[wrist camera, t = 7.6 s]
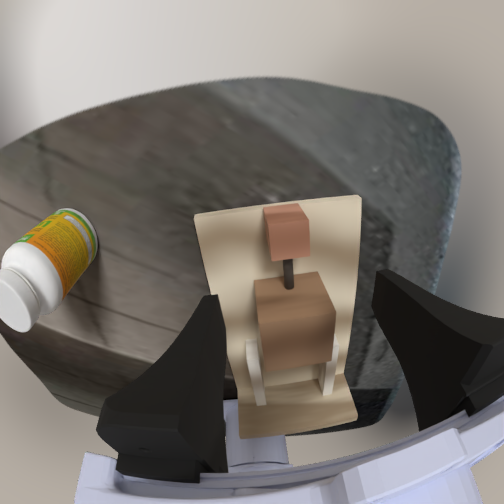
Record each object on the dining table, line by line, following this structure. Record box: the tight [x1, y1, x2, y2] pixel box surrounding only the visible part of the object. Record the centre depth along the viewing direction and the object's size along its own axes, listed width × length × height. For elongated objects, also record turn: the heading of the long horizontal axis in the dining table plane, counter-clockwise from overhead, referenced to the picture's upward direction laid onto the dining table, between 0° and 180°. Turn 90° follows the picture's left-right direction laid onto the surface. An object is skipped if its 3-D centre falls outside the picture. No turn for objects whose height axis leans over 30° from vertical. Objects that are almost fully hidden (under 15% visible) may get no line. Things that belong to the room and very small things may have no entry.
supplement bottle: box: [0, 208, 98, 332], centre depth 16 cm, size 5×5×10 cm
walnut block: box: [254, 203, 336, 372], centre depth 19 cm, size 11×5×5 cm, turn 7°
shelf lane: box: [194, 195, 361, 439], centre depth 22 cm, size 21×12×7 cm, turn 7°
